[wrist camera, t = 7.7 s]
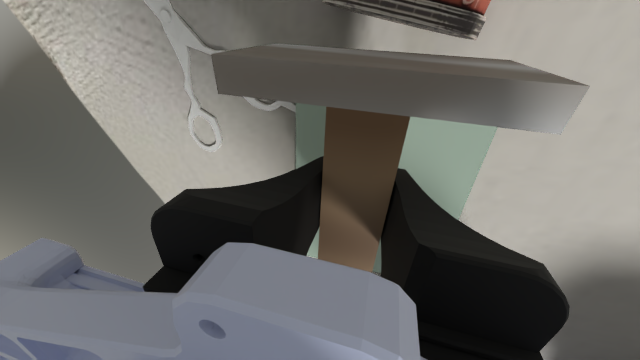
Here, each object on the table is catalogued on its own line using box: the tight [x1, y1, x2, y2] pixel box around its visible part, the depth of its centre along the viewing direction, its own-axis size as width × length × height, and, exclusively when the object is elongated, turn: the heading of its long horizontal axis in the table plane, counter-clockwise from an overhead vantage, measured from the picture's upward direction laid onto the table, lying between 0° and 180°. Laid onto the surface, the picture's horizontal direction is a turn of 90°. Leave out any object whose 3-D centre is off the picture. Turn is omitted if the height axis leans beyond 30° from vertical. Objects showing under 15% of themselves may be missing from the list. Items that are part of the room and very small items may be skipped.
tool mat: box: [296, 103, 497, 273], centre depth 20 cm, size 15×13×1 cm
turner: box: [211, 43, 590, 273], centre depth 12 cm, size 13×10×5 cm
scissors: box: [143, 0, 296, 152], centre depth 18 cm, size 11×1×20 cm
